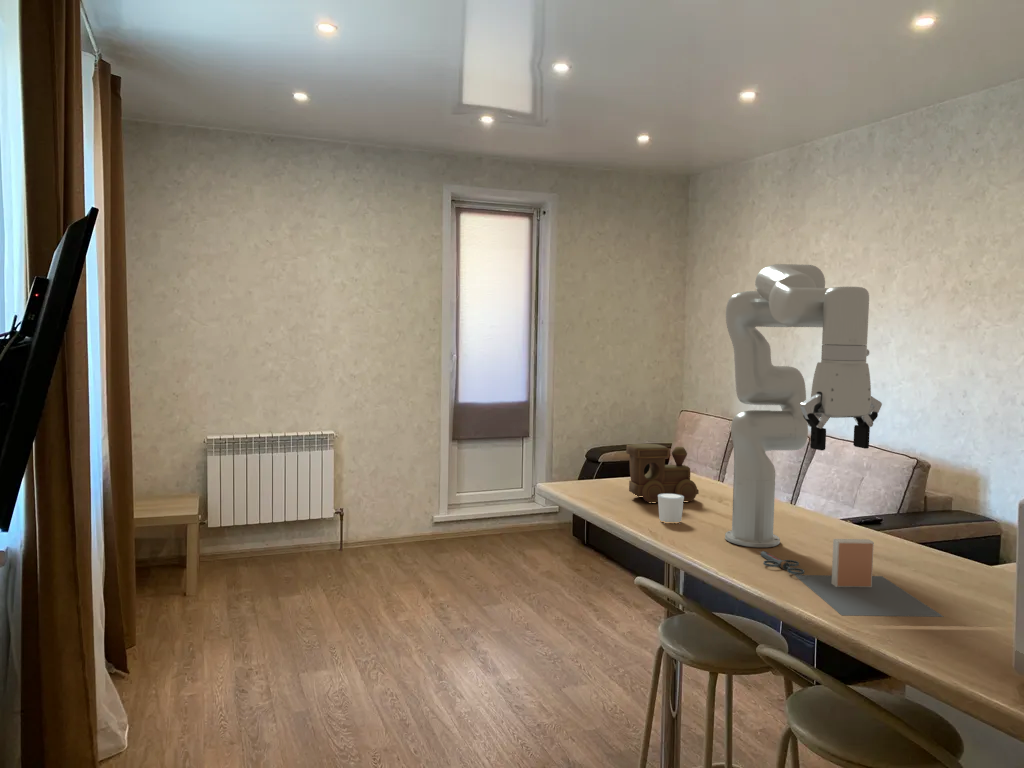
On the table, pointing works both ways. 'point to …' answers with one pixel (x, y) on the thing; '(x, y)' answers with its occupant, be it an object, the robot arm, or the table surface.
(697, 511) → the table surface
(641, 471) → the wooden toy train
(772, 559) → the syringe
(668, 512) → the white short tapered cylinder
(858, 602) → the mat
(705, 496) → the table surface
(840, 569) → the tile
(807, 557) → the table surface
